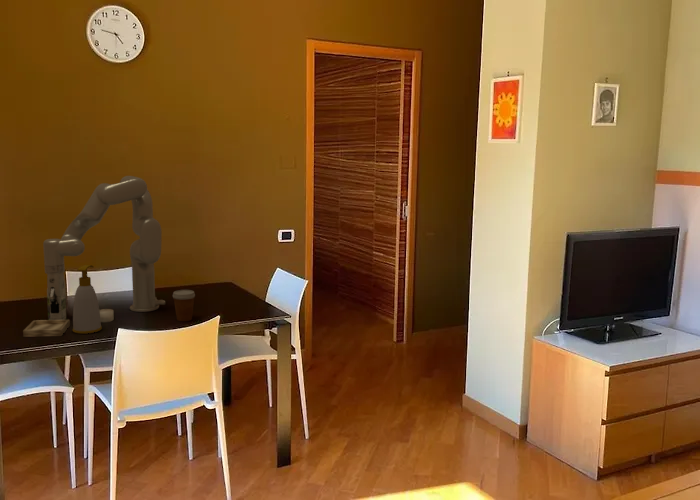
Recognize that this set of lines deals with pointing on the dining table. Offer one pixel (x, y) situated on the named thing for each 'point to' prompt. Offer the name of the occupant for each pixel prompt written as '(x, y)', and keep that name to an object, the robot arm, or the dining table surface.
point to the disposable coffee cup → (184, 304)
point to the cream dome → (106, 315)
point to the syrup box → (62, 307)
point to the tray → (46, 328)
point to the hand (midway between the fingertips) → (57, 310)
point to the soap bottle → (86, 306)
